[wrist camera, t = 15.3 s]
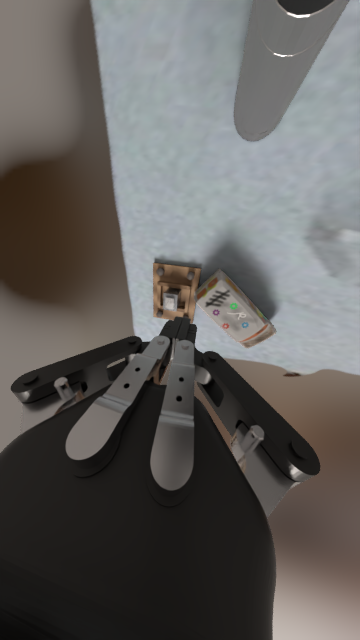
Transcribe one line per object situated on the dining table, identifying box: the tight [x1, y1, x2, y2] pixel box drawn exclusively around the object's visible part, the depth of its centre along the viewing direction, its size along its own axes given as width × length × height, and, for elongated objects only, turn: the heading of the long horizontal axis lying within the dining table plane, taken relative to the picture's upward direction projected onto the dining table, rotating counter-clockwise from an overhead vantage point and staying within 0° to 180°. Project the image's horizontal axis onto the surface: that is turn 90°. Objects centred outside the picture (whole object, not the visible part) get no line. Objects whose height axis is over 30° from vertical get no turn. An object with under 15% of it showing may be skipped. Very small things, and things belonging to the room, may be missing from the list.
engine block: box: [163, 287, 182, 311], centre depth 41 cm, size 5×4×7 cm
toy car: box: [194, 269, 276, 348], centre depth 39 cm, size 11×25×10 cm, turn 48°
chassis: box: [153, 263, 201, 323], centre depth 44 cm, size 18×14×3 cm
